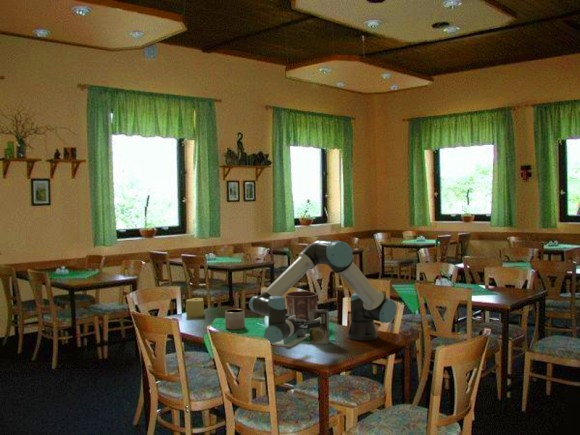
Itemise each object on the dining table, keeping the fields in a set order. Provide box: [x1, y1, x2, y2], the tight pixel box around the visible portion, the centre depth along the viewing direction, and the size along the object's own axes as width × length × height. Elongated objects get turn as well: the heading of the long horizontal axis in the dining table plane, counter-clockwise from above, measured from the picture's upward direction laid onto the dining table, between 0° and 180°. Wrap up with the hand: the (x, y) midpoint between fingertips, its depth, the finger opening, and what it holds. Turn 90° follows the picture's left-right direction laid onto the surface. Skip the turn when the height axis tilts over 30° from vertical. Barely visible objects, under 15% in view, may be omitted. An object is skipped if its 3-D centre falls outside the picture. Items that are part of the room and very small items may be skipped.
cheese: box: [185, 297, 205, 318], centre depth 375 cm, size 10×11×10 cm
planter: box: [224, 308, 246, 331], centre depth 341 cm, size 11×11×10 cm
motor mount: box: [263, 313, 310, 348], centre depth 313 cm, size 19×24×12 cm
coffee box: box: [309, 308, 330, 345], centre depth 306 cm, size 9×6×16 cm
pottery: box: [285, 290, 319, 321], centre depth 343 cm, size 18×18×18 cm
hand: (307, 318), depth 295 cm, fingers open, 13 cm apart
